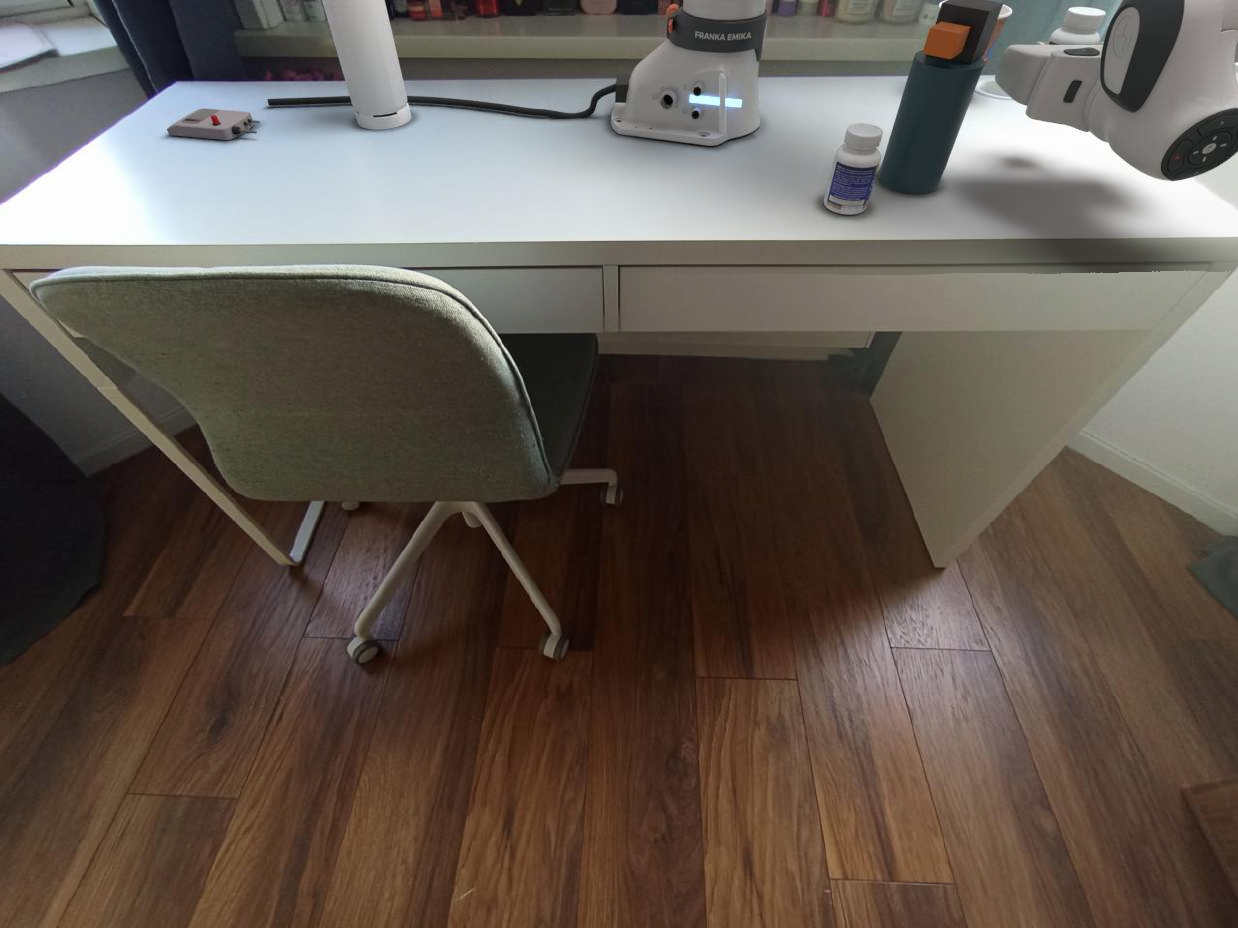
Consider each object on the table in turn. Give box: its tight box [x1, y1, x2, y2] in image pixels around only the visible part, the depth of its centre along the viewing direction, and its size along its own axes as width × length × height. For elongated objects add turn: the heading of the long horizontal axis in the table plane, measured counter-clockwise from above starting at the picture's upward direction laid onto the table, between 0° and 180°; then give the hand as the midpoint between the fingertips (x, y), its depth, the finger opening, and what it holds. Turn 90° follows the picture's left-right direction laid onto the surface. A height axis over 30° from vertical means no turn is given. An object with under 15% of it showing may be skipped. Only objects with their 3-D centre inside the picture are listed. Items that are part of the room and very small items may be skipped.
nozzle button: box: [922, 22, 970, 59], centre depth 69 cm, size 3×3×2 cm
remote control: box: [166, 107, 261, 141], centre depth 93 cm, size 7×16×3 cm, turn 78°
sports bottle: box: [877, 0, 1004, 195], centre depth 76 cm, size 8×8×19 cm
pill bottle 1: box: [823, 122, 884, 216], centre depth 75 cm, size 5×5×9 cm
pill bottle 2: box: [1047, 6, 1107, 45], centre depth 78 cm, size 5×5×10 cm
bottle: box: [321, 0, 412, 131], centre depth 87 cm, size 8×8×28 cm
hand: (1065, 49), depth 78 cm, fingers closed on pill bottle 2, 5 cm apart
